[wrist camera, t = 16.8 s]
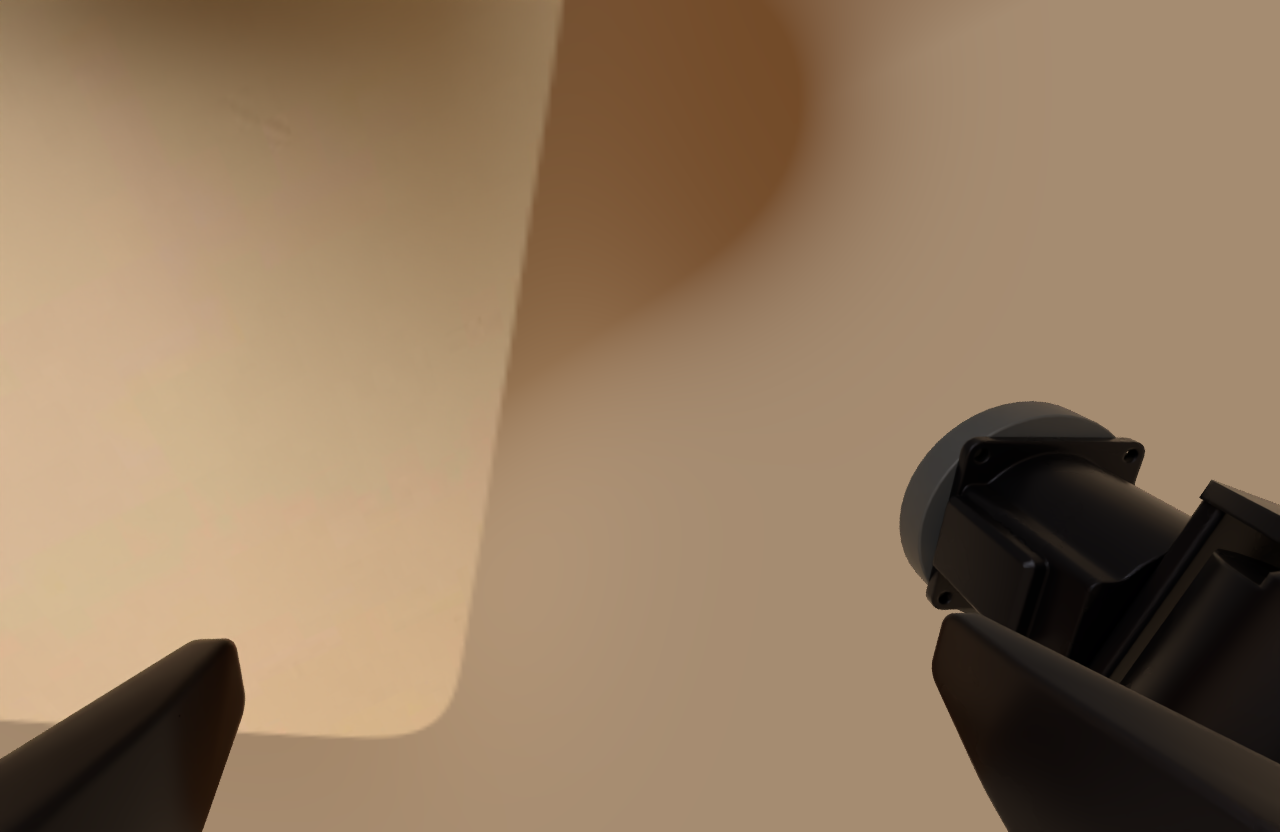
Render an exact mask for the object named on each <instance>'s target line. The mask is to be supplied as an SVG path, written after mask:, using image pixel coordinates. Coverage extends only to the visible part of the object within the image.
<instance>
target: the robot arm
mask: <svg viewBox="0 0 1280 832" xmlns="http://www.w3.org/2000/svg"><path fill="white" fill-rule="evenodd" d="M979 449H982V451H981V453H980V455H978V456H977V457H975V454H976V452H977V451H978V450H979ZM1127 451H1128V453H1127V454H1126V452H1127ZM1144 453H1145V450H1144V446H1143V445H1142V444H1141V443H1139V442H1137V441H1135V440H1132V439H1130V438H1102V437H973V438H971V439H969V440H967V441H966V443H965V444H964V445H963V447H962V449H961V452H960V456H959V460H958V464H957V468H956V472H955V476H954V480H953V484H952V488H951V492H950V497H949V501H948V502H947V505H946V509H945V513H944V517H943V521H942V525H941V529H940V533H939V538H938V542H937V546H936V550H935V554H934V558H933V566H932V570H931V574H930V578H929V582H928V586H927V591H926V597H927V599H928V600H929V601H930V603H931V604H932V605H933V606H934V607H935V608H937V609H941V610H948V609H976V610H977V611H978V613H979V614H978V613H952V614H949V615H947V616H946V617H945V619H944V620H943V622H942V625H941V629H940V633H939V637H938V641H937V645H936V649H935V652H934V656H933V660H932V673H933V678H934V681H935V683H936V686H937V688H938V690H939V692H940V694H941V697H942V699H943V701H944V703H945V705H946V708H947V709H948V712H949V714H950V716H951V718H952V721H953V723H954V725H955V727H956V729H957V731H958V734H959V736H960V738H961V740H962V742H963V745H964V747H965V749H966V751H967V753H968V756H969V758H970V760H971V762H972V764H973V766H974V769H975V770H976V773H977V775H978V777H979V779H980V781H981V783H982V785H983V787H984V789H985V791H986V793H987V795H988V796H989V798H990V800H991V802H992V804H993V806H994V807H995V809H996V811H997V813H998V814H999V816H1000V818H1001V819H1002V821H1003V823H1004V825H1005V827H1006V828H1007V830H1008V832H1280V505H1279V504H1276V503H1273V502H1271V501H1268V500H1265V499H1262V498H1260V497H1257V496H1254V495H1251V494H1249V493H1246V492H1244V491H1241V490H1238V489H1236V488H1233V487H1230V486H1227V485H1225V484H1222V483H1219V482H1217V481H1214V480H1211V481H1210V483H1209V484H1208V486H1207V487H1206V489H1205V490H1204V492H1203V493H1202V494H1201V496H1200V498H1201V499H1202V500H1203V501H1202V502H1201V504H1200V505H1199V507H1198V508H1197V510H1196V511H1195V512H1194V514H1193V515H1192V517H1191V516H1189V515H1187V514H1185V513H1184V512H1182V511H1180V510H1178V509H1176V508H1175V507H1173V506H1171V505H1169V504H1167V503H1165V502H1164V501H1162V500H1160V499H1158V498H1156V497H1154V496H1152V495H1151V494H1149V493H1147V492H1145V491H1143V490H1142V489H1140V488H1138V487H1136V486H1134V484H1135V481H1136V478H1137V475H1138V472H1139V469H1140V466H1141V464H1142V461H1143V458H1144ZM1125 454H1126V455H1125ZM944 592H945V593H944ZM942 593H944V595H942V596H941V597H939V596H940V595H941V594H942ZM244 705H245V692H244V686H243V680H242V675H241V669H240V664H239V658H238V652H237V648H236V646H235V644H234V642H233V641H231V640H229V639H199V640H194V641H191V642H189V643H187V644H185V645H184V646H182V647H181V648H179V649H177V650H176V651H174V652H172V653H171V654H169V655H168V656H166V657H164V658H163V659H161V660H160V661H158V662H156V663H155V664H153V665H151V666H150V667H148V668H147V669H145V670H143V671H142V672H140V673H138V674H137V675H135V676H134V677H132V678H130V679H129V680H127V681H126V682H124V683H122V684H121V685H119V686H117V687H116V688H114V689H113V690H111V691H109V692H108V693H106V694H105V695H103V696H101V697H100V698H98V699H96V700H95V701H93V702H92V703H90V704H88V705H87V706H85V707H84V708H82V709H80V710H79V711H77V712H75V713H74V714H72V715H71V716H69V717H67V718H66V719H64V720H63V721H61V722H59V723H58V724H56V725H54V726H53V727H51V728H50V729H48V730H46V731H45V732H43V733H42V734H40V735H38V736H37V737H35V738H33V739H32V740H30V741H29V742H27V743H25V744H24V745H22V746H21V747H19V748H17V749H16V750H14V751H13V752H11V753H10V754H8V755H6V756H4V757H3V758H1V759H0V832H202V830H203V828H204V825H205V822H206V819H207V816H208V813H209V810H210V808H211V804H212V802H213V799H214V796H215V793H216V790H217V787H218V785H219V782H220V779H221V776H222V773H223V770H224V767H225V764H226V762H227V759H228V756H229V753H230V750H231V747H232V744H233V741H234V738H235V736H236V733H237V730H238V727H239V724H240V721H241V718H242V715H243V711H244Z"/></svg>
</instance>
